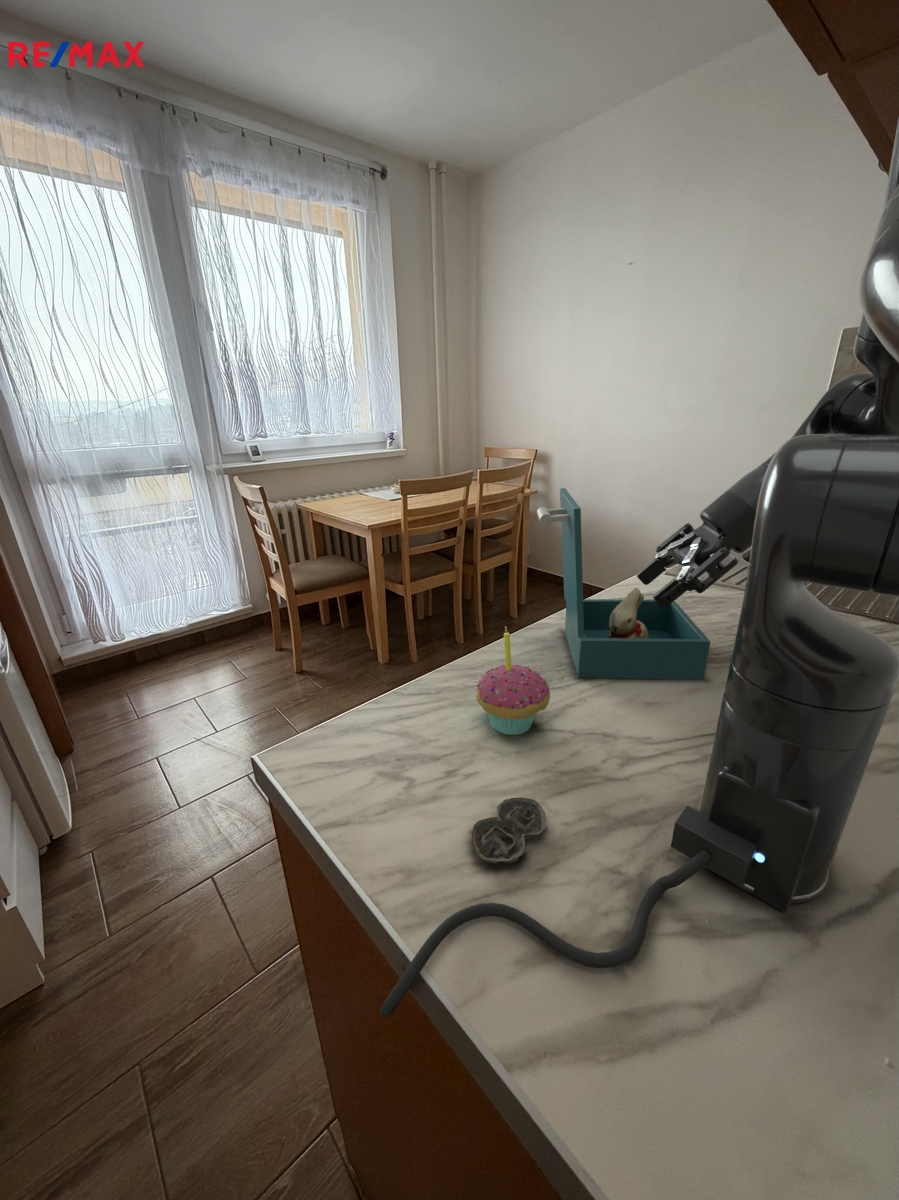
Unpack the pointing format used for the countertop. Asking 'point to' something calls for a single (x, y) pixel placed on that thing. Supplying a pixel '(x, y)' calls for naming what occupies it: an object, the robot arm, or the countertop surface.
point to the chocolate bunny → (628, 618)
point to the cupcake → (512, 695)
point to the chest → (638, 644)
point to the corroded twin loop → (508, 830)
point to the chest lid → (569, 553)
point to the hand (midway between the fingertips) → (648, 591)
